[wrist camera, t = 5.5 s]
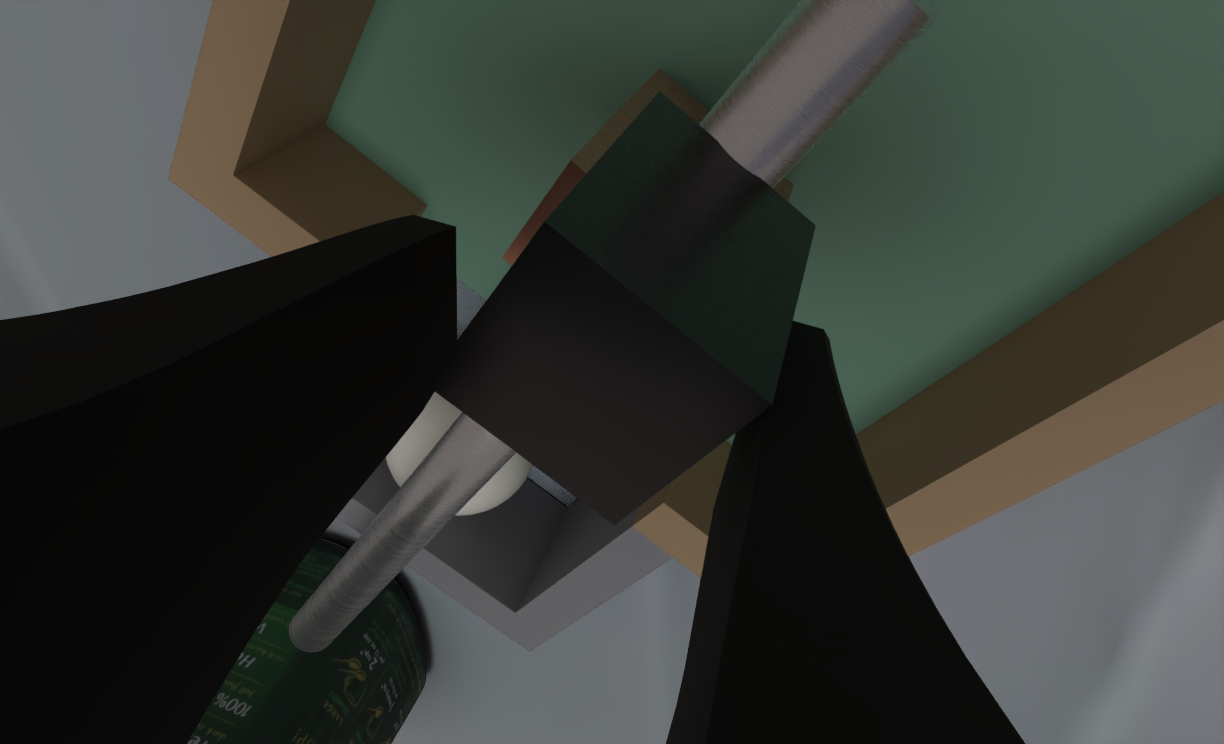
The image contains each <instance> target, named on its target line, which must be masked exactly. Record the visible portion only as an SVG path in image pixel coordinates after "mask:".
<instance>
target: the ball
mask: <svg viewBox="0 0 1224 744" xmlns="http://www.w3.org/2000/svg"><path fill="white" fill-rule="evenodd" d="M461 413H462V411H460V410H459V409H458V408H456V407H455V406H454V405H452V404H451V403H449V402H448V401H447V400H445V399H444V398H443V397H441V396H440V395H439V394H437V393H436V392H434V394H433V395H432V397H431V399H430V400H429V402H428V403H427V405H426V407H425V408H424V410H423V411H422V413H421V414H420V415H419V417H418V418H417V419H416V420H415V422H414V423H413V424H412V425H411V427H410V428H409V429H408V430H407V432H406V433H405V434H404V435H403V437H402V438H401V439H400V440H399V442H398V443H397V444H396V445H395V446H394V448H393V449H392V450H391V451H390V453H389V454H388V455H387V456H386V461H387V465H388V467H389V469H390V472H391V474H392V476H393V478H394V479H395V481H396V483H397V484H398V485H399V487H401V486H402V485H403V483H404V482H405V481H406V480H407V479H408V477H409V476H410V475H411V474H412V473H413V471H414V470H415V469H416V468H417V466H418V465H419V464H420V463H421V462H422V460H423V459H424V458H425V457H426V456H427V454H428V453H429V452H430V451H431V449H432V448H433V447H434V446H435V445H436V443H437V442H438V441H439V440H440V438H441V437H442V436H443V435H444V434H445V432H446V431H447V430H448V429H449V428H450V426H451V425H452V424H453V423H454V421H455V420H456V419H457V418H458V417H459V415H460V414H461ZM532 466H533V464H531V463H530V462H529V461H527V460H526V459H525V458H523V457H522V456H521V455H519V454H518V453H517V452H516V453H515V454H514V455H513V456H512V457H511V458H510V459H509V460H508V461H507V462H506V463H505V464H504V465H503V467H502V468H501V469H500V470H499V471H498V472H497V473H496V474H495V475H494V476H493V477H492V478H491V479H490V480H489V481H488V482H487V483H486V484H485V485H484V486H483V487H482V488H481V489H480V490H479V491H478V492H477V493H476V494H475V495H474V496H473V497H472V498H471V499H470V500H469V501H468V502H467V503H466V504H465V506H464V507H463V508H462V509H461V510H460V511H459V512H458V513H457V514H456V516H460V515H472V514H477V513H481V512H485V511H487V510H490V509H492V508H494V507H496V506H498V505H500V504H501V503H503V502H504V501H506V500H507V499H509V498H510V497H511V496H512V495H513V494H514V493H515V492H516V491H517V490H518V489H519V488H520V487H521V486H522V484H523V483H524V482H525V480H526V478H527V477H528V475H529V473H530V471H531V469H532Z"/></svg>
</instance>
